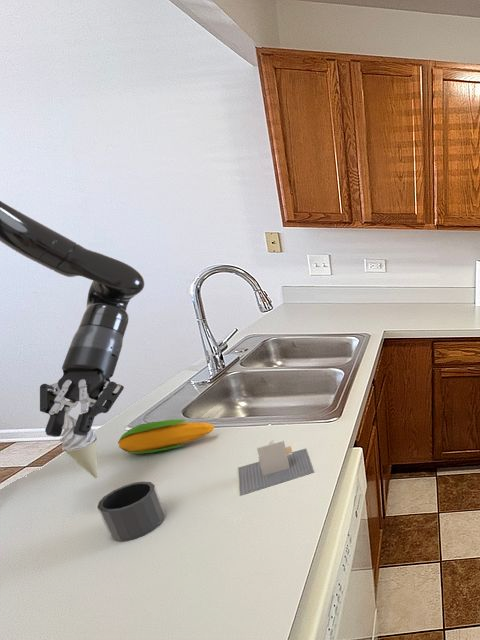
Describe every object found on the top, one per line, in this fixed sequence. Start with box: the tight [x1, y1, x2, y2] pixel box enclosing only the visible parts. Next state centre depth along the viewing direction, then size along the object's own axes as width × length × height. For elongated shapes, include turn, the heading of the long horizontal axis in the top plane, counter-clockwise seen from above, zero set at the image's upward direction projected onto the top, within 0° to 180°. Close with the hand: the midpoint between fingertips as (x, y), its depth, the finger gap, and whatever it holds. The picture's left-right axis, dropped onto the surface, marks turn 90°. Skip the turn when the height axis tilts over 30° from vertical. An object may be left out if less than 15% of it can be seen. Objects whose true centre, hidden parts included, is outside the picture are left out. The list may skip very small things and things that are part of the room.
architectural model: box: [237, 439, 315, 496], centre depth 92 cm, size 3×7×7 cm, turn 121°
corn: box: [117, 419, 215, 454], centre depth 100 cm, size 7×8×20 cm
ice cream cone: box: [58, 412, 99, 479], centre depth 77 cm, size 5×5×15 cm
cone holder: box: [97, 481, 166, 542], centre depth 75 cm, size 8×8×7 cm
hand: (66, 434), depth 74 cm, fingers closed on ice cream cone, 4 cm apart
